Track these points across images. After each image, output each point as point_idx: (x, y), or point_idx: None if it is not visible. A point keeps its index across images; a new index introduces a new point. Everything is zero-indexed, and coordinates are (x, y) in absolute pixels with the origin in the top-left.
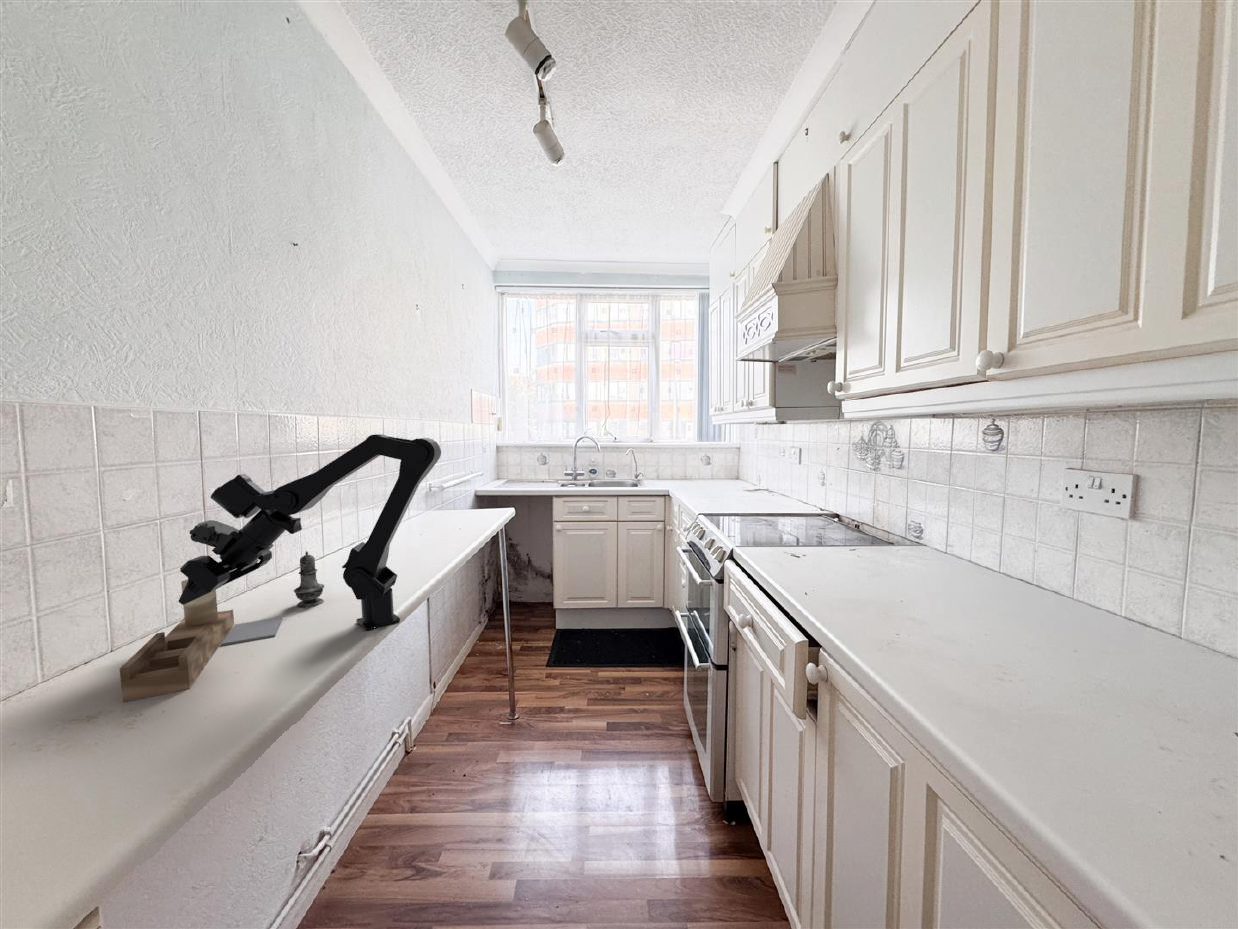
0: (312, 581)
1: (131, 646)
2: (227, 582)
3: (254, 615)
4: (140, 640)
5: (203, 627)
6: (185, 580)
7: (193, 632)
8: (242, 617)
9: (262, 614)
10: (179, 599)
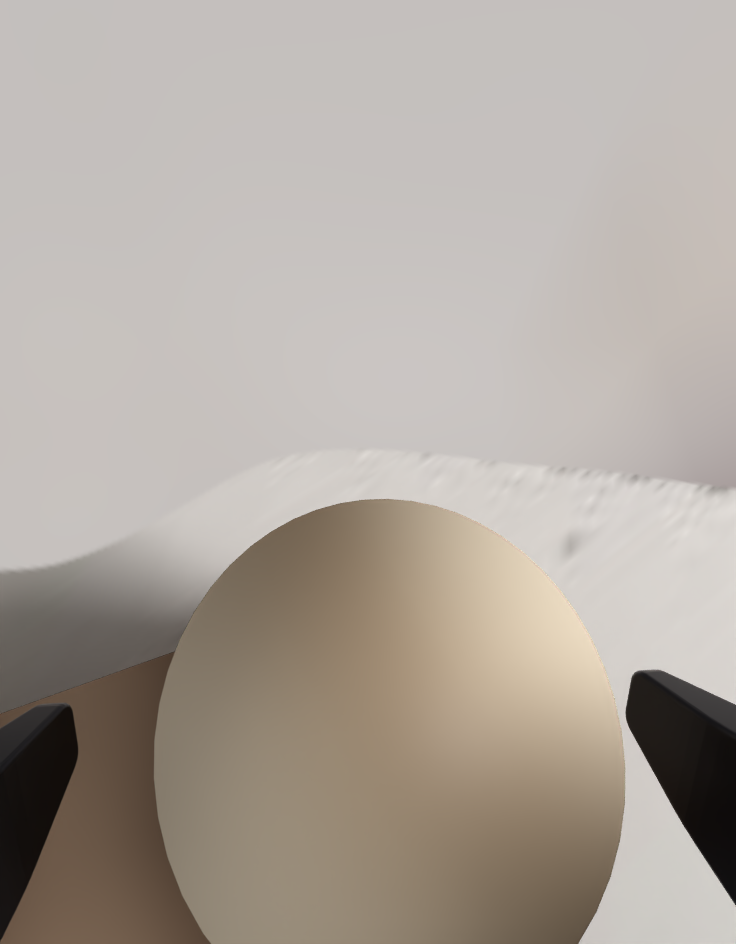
0: None
1: (278, 459)
2: (733, 896)
3: (687, 873)
4: (342, 450)
5: (169, 892)
6: (371, 522)
7: (70, 879)
8: (640, 793)
9: (718, 939)
10: (2, 729)
